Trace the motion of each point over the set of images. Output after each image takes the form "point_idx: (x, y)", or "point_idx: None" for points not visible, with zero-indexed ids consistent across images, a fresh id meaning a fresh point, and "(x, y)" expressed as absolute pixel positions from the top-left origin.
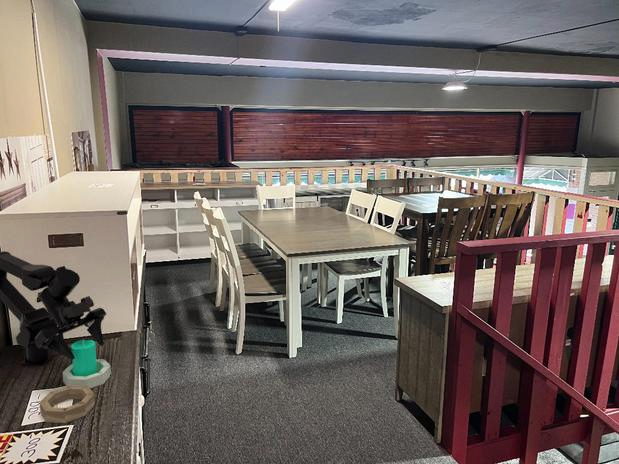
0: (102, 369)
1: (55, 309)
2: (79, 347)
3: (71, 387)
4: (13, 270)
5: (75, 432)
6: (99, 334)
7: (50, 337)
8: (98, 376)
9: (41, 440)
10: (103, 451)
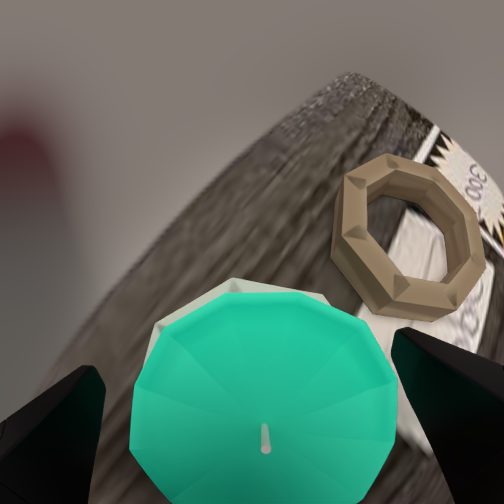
0: None
1: None
2: (320, 420)
3: (394, 276)
4: None
5: (408, 150)
6: (33, 420)
7: None
8: (256, 285)
9: (463, 183)
10: (375, 91)
